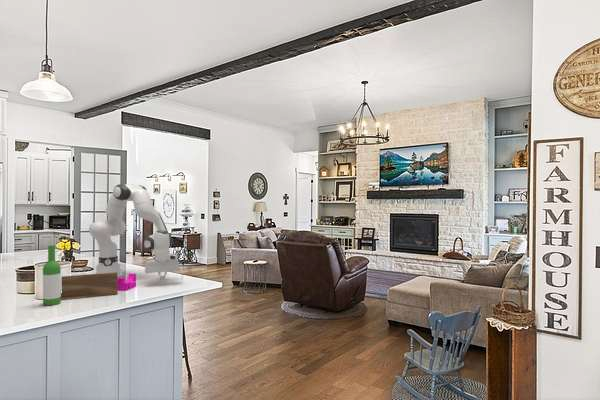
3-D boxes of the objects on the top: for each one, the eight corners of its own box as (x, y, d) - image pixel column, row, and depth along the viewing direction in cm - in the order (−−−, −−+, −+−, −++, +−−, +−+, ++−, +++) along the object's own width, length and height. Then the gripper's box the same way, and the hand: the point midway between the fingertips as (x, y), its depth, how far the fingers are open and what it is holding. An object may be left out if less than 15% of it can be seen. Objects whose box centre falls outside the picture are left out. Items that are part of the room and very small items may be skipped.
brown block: (62, 294, 212) (62, 273, 212) (118, 289, 224) (117, 269, 224) (58, 300, 200) (58, 277, 200) (117, 294, 212) (117, 273, 212)
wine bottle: (53, 301, 199) (52, 244, 199) (64, 302, 196) (64, 244, 196) (39, 305, 191) (38, 246, 191) (50, 306, 189) (50, 246, 189)
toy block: (126, 291, 221) (126, 278, 221) (116, 291, 221) (116, 278, 221) (139, 285, 236) (139, 273, 236) (130, 285, 236) (130, 273, 236)
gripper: (144, 258, 228) (144, 281, 228) (179, 256, 237) (179, 278, 237) (144, 257, 234) (144, 279, 234) (178, 255, 243) (178, 276, 243)
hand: (162, 279), depth 236 cm, fingers closed
